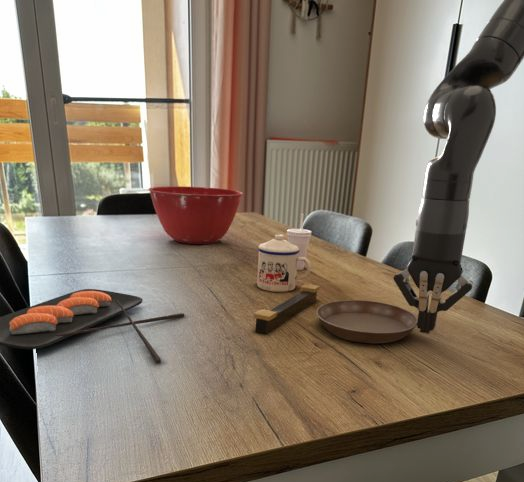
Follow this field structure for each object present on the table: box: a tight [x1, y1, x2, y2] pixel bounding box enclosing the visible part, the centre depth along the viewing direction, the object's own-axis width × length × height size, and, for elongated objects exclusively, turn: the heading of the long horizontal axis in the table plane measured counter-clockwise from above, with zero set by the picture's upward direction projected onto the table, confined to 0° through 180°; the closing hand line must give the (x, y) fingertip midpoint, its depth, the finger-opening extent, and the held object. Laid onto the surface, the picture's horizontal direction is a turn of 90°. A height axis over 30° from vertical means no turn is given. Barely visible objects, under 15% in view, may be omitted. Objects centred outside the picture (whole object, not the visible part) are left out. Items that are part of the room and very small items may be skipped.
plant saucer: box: [316, 299, 418, 344], centre depth 91 cm, size 18×18×3 cm
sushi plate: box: [0, 288, 185, 364], centre depth 84 cm, size 29×30×4 cm
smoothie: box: [286, 212, 312, 271], centre depth 132 cm, size 6×6×14 cm
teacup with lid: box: [256, 234, 312, 293], centre depth 113 cm, size 12×9×12 cm
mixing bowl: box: [147, 185, 243, 245], centre depth 160 cm, size 28×28×15 cm
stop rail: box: [253, 283, 321, 335], centre depth 97 cm, size 3×24×3 cm, turn 154°
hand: (425, 331), depth 87 cm, fingers closed
